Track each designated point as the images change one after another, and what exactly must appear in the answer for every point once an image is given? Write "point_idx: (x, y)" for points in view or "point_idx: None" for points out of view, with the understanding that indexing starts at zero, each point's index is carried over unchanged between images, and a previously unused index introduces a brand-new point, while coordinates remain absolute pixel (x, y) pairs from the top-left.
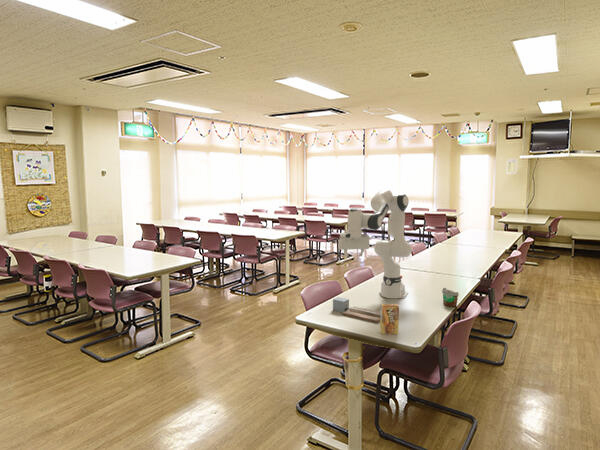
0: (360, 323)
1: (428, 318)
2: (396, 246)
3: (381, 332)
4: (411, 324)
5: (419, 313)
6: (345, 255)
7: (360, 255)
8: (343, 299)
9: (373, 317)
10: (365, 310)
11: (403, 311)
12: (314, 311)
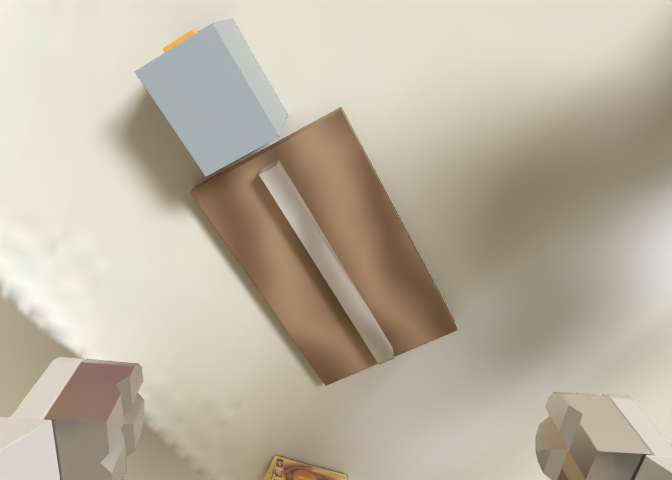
0: (236, 345)
1: None
2: None
3: (265, 476)
4: (479, 442)
5: (663, 347)
6: (47, 382)
7: (547, 469)
8: (229, 119)
9: (337, 341)
10: (339, 269)
11: (614, 286)
12: (3, 25)
